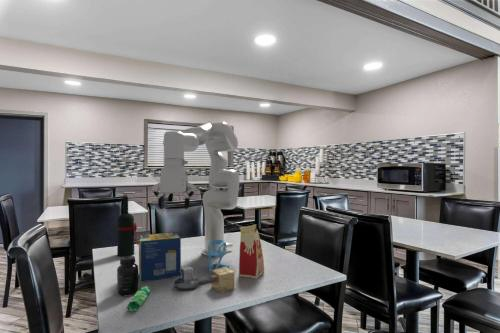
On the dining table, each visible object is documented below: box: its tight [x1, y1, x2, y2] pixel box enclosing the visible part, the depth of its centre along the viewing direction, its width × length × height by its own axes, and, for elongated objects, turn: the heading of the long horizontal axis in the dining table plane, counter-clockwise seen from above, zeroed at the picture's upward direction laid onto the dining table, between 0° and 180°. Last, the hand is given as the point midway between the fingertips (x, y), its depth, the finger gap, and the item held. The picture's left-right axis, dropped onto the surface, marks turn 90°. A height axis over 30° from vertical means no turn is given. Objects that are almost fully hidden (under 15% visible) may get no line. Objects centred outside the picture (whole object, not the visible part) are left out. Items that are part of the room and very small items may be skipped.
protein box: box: [138, 231, 182, 283], centre depth 120 cm, size 10×15×16 cm
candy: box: [126, 285, 152, 313], centre depth 95 cm, size 12×3×4 cm
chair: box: [205, 240, 230, 273], centre depth 126 cm, size 8×8×12 cm
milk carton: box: [238, 224, 265, 280], centre depth 121 cm, size 9×9×20 cm
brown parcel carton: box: [211, 267, 236, 294], centre depth 106 cm, size 6×6×6 cm
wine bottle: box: [116, 193, 139, 258], centre depth 148 cm, size 8×10×30 cm
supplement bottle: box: [116, 255, 140, 297], centre depth 103 cm, size 7×7×12 cm
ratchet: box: [173, 265, 212, 292], centre depth 112 cm, size 23×9×6 cm, turn 123°
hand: (174, 208), depth 114 cm, fingers open, 9 cm apart
